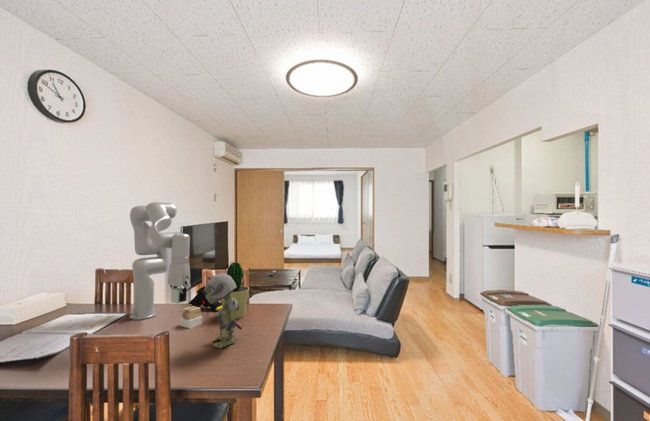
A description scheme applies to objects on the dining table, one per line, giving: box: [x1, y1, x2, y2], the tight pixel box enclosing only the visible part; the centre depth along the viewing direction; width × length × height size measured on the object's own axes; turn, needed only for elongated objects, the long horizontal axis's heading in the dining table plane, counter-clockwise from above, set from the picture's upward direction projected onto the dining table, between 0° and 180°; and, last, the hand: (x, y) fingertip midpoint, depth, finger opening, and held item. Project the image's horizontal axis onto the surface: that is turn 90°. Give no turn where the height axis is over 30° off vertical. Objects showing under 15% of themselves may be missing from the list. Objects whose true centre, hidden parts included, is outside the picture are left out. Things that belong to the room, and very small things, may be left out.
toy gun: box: [188, 285, 222, 312], centre depth 180 cm, size 5×18×12 cm
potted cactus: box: [220, 261, 250, 320], centre depth 169 cm, size 15×15×30 cm
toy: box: [204, 273, 243, 349], centre depth 133 cm, size 15×16×30 cm
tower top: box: [181, 306, 202, 320], centre depth 154 cm, size 6×6×4 cm
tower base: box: [179, 315, 204, 329], centre depth 154 cm, size 8×8×4 cm
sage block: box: [170, 287, 188, 304], centre depth 141 cm, size 5×5×6 cm
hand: (178, 299), depth 141 cm, fingers closed on sage block, 4 cm apart
